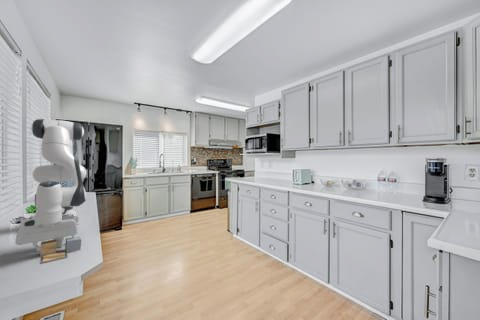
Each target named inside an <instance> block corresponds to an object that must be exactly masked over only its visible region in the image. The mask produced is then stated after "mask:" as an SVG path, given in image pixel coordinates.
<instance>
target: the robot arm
mask: <svg viewBox="0 0 480 320" xmlns="http://www.w3.org/2000/svg"><path fill="white" fill-rule="evenodd" d="M30 131H31V133H32V135H33V136H34V137H35V138H38V139H41V148H40V149H41V156H42V158H43V159H44V160H46V161H47V162H49V163H51V164H46V165H40V166H36V167H35V168H34V169H33V171H32V178H33V179H34V181H35V182H37V183H39V184H38V185H37V188H36V192H35V194H34V205H35V206H36V210H35V213H34V214H35V215H33V216H30V217H28V218H24V219H22V220H21V221H20V227H19V229H18V230H17V232H16V235H15V244H16V245H17V246H21V245H26V244H32V246H33V247H34V248H35V252H36V253H38V252H40V253H41V245H40V246H39V245H38V243H39V242H42V241H48V240H53V239H56V238H60V241H59V243H56V249H59V248H60V244H61V243H62V241H63V240H64V237H67V236H73V235H74V236H76V235H77V234H78V225H80V221H79V217H78V216H77V215H76V213H77V212H76V211H75V210H74V207H80V206H81V205H83V204H84V203H85V202H86V201H87V192H86V191H87V190H86V189H85V186H84V182H83V180H84V179H85V178H86V176H87V170H86V168H85V166H83V165H81V164H80V161H79V159H78V157H77V156H76V155H74V152H73V149H74V147H73V141H74V142H75V141H81V140H82V138H83V137H84V135H85V130H84V127H83V125H82V124H81V123H79V122H76V121H74V122H72V121H67V120H61V119H59V120H57V119H44V118H39V119H38V118H37V119H35V120H33V122H32V124H31V126H30ZM61 183H72V184H73V185H72V186H62V185H61ZM64 214H71V216H63V217H62V215H64Z"/></svg>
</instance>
